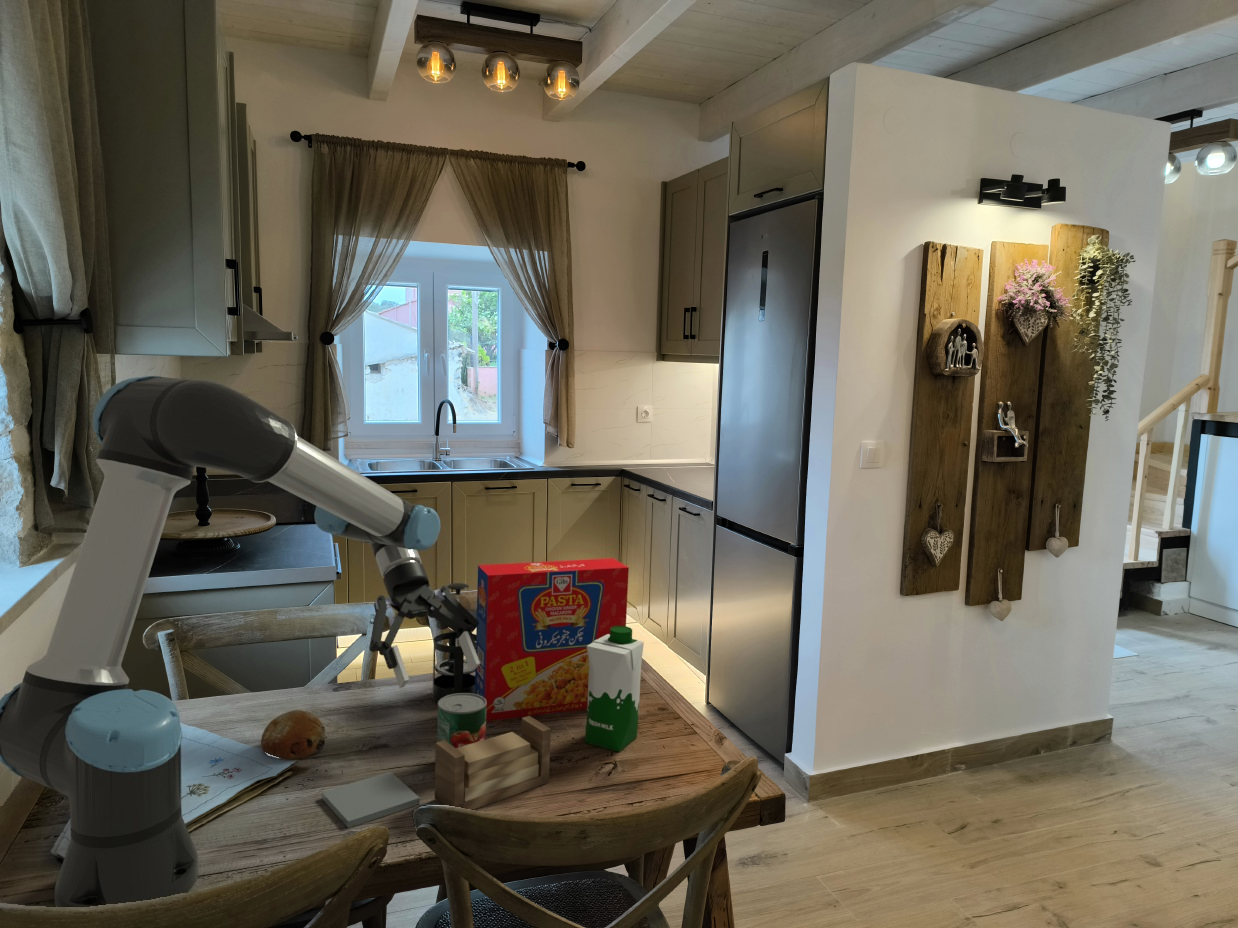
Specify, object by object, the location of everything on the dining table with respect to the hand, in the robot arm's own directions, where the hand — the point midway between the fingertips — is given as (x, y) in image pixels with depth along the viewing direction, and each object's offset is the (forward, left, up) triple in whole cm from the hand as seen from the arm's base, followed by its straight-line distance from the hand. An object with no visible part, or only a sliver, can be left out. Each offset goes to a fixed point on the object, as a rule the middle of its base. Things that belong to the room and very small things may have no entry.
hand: (441, 675), depth 141 cm
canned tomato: (-1, -9, -13) cm, 15 cm away
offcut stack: (-1, -19, -11) cm, 22 cm away
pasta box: (+26, +3, -13) cm, 29 cm away
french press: (+13, +17, -13) cm, 25 cm away
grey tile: (-17, -11, -13) cm, 24 cm away
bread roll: (-20, +13, -13) cm, 27 cm away
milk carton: (+26, -16, -13) cm, 33 cm away
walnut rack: (-1, -19, -13) cm, 22 cm away
